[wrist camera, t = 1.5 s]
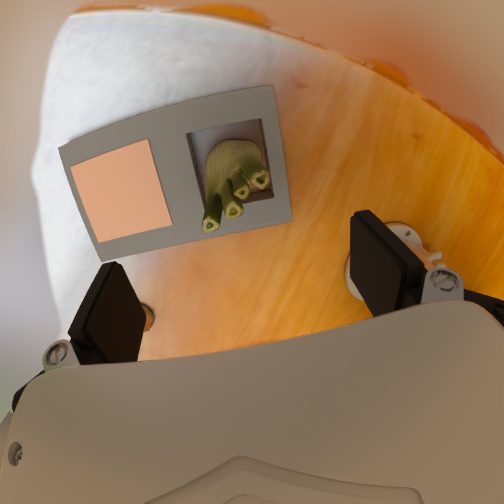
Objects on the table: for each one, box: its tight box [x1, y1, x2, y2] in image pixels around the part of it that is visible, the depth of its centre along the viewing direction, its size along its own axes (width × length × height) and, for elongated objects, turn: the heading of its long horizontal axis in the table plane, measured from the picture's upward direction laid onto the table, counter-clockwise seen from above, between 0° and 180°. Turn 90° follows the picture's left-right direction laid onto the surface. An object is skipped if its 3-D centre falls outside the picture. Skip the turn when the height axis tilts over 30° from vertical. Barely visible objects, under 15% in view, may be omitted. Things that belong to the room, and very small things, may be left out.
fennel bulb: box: [202, 139, 270, 233], centre depth 23 cm, size 6×5×12 cm
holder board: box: [58, 85, 292, 262], centre depth 27 cm, size 22×14×3 cm, turn 100°
